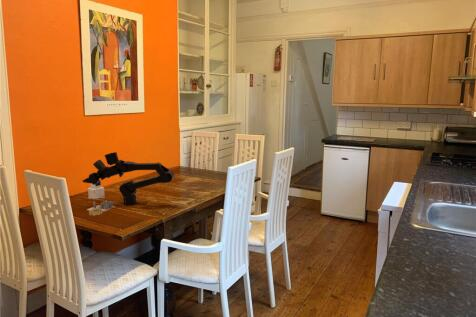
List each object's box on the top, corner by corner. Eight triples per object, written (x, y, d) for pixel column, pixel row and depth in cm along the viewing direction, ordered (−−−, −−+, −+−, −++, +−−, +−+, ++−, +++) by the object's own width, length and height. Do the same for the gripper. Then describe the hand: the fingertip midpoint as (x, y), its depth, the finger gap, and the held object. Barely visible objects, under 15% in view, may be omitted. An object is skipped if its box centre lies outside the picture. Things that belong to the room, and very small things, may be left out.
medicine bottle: (99, 196, 235) (97, 178, 233) (105, 198, 231) (103, 179, 229) (88, 199, 230) (87, 180, 228) (94, 200, 225) (92, 181, 223)
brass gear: (104, 214, 197) (104, 209, 197) (97, 218, 191) (96, 212, 191) (95, 213, 199) (94, 208, 199) (87, 217, 193) (86, 211, 193)
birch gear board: (115, 208, 208) (115, 199, 208) (104, 213, 199) (103, 204, 198) (98, 206, 212) (97, 198, 211) (86, 211, 203) (85, 202, 202)
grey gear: (114, 206, 209) (114, 201, 208) (109, 209, 202) (108, 204, 202) (104, 205, 210) (103, 200, 209) (98, 209, 203) (98, 204, 203)
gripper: (111, 155, 218) (88, 162, 220) (98, 162, 200) (73, 170, 202) (118, 172, 221) (95, 179, 222) (106, 181, 202) (81, 188, 204)
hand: (86, 179), depth 213 cm, fingers open, 9 cm apart
